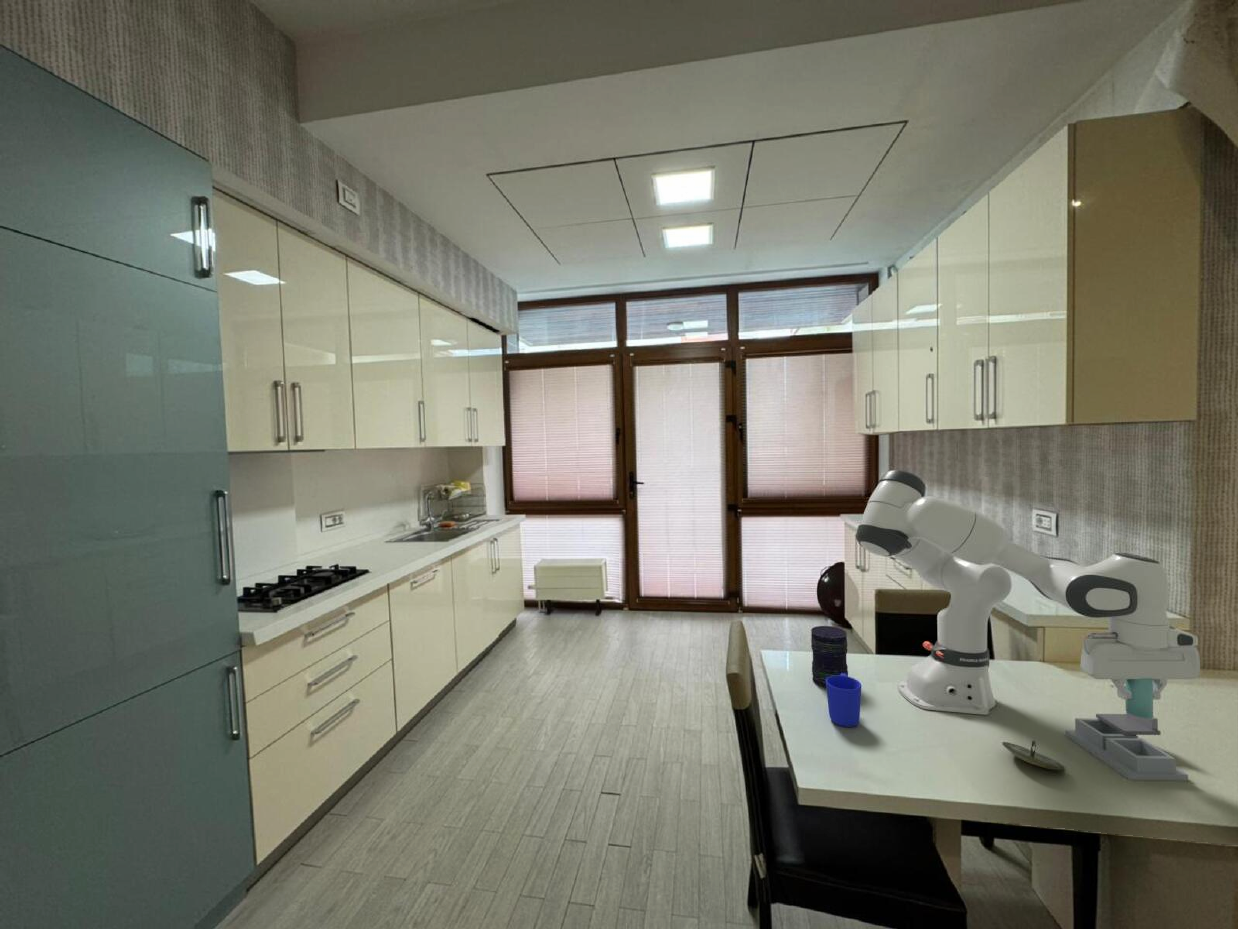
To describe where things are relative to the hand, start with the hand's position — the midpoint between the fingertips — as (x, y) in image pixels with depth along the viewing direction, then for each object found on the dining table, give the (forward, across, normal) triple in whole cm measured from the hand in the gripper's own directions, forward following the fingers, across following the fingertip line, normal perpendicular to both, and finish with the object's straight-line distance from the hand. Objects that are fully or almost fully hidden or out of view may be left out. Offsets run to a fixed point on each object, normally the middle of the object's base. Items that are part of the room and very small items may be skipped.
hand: (1138, 698), depth 105 cm
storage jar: (+15, -50, +39) cm, 65 cm away
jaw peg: (+3, 0, 0) cm, 3 cm away
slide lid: (+10, +4, +8) cm, 14 cm away
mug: (+15, -53, +19) cm, 58 cm away
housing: (+15, 0, +4) cm, 15 cm away
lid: (+15, -21, 0) cm, 26 cm away
